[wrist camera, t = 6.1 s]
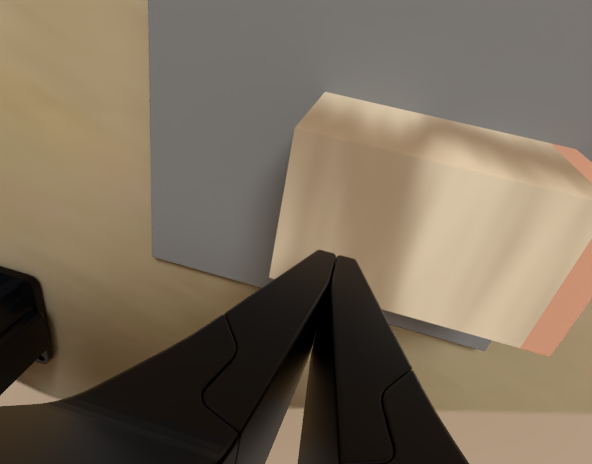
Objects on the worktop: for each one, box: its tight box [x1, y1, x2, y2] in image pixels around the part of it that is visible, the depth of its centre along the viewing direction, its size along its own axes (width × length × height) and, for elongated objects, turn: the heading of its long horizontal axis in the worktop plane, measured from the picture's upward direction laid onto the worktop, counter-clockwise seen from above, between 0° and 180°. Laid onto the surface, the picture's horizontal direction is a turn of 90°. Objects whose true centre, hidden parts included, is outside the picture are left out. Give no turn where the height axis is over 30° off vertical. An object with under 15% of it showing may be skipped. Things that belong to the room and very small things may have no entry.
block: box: [269, 92, 592, 356], centre depth 12 cm, size 4×4×8 cm
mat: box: [148, 0, 592, 351], centre depth 15 cm, size 15×13×1 cm
